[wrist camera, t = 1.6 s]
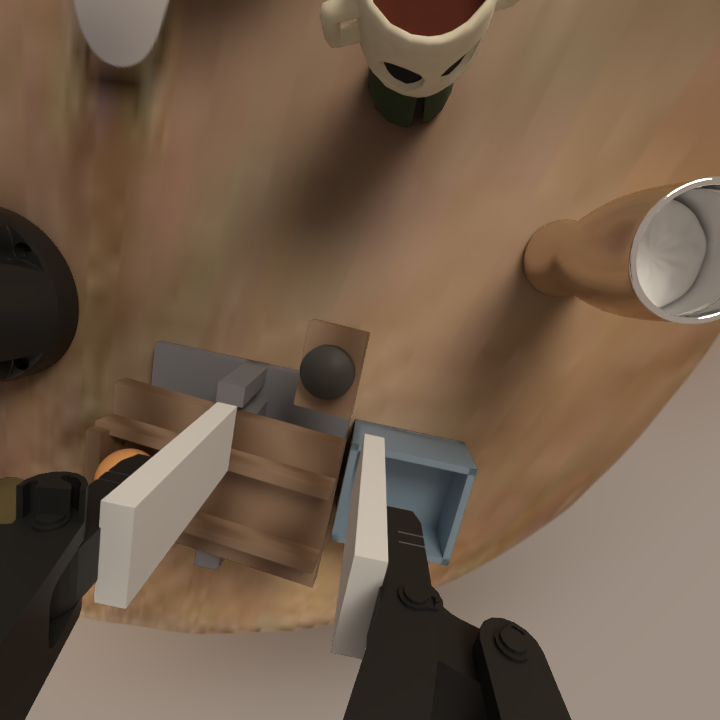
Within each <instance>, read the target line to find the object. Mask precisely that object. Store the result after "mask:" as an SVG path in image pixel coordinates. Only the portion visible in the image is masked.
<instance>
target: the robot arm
mask: <svg viewBox="0 0 720 720" xmlns="http://www.w3.org/2000/svg"><path fill="white" fill-rule="evenodd" d="M77 321H78V296H77V290H76V286H75V282H74V279H73V276H72V273H71V271H70V269H69V267H68V265H67V263H66V261H65V259H64V257H63V256H62V254H61V253H60V251H59V250H58V248H57V247H56V246H55V244H54V243H53V242H52V241H51V240H50V238H49V237H48V236H47V235H46V234H45V233H44V232H43V231H41V230H40V229H39V228H38V227H37V226H36V225H34V224H33V223H32V222H30V221H29V220H27V219H26V218H24V217H22V216H21V215H19V214H17V213H15V212H12V211H10V210H8V209H5V208H2V207H0V382H6V381H11V380H15V379H18V378H22V377H25V376H28V375H31V374H35V373H37V372H40V371H42V370H44V369H46V368H48V367H49V366H51V365H52V364H53V363H55V362H56V361H57V360H58V359H59V358H60V357H61V356H62V355H63V354H64V352H65V351H66V350H67V348H68V346H69V345H70V343H71V341H72V339H73V336H74V333H75V330H76V326H77ZM236 411H237V406H234V405H229V404H225V403H220V402H217V403H216V404H215V405H213V406H212V407H211V408H210V409H209V410H207V411H206V412H205V413H204V414H203V415H202V416H200V417H199V418H198V419H197V420H196V421H194V422H193V423H192V424H191V425H190V426H189V427H187V428H186V429H185V430H184V431H183V432H181V433H180V434H179V435H178V436H177V437H176V438H174V439H173V440H172V441H171V442H170V443H168V444H167V445H166V446H165V447H164V448H163V449H161V450H160V451H159V452H158V453H157V454H155V455H154V456H153V457H151V456H147V455H142V454H137V455H134V456H131V457H129V458H126V459H123V460H121V461H120V462H118V463H117V464H116V465H115V466H113V467H112V468H111V469H109V471H107V472H105V473H104V474H103V475H101V476H100V477H99V479H96V480H95V481H93V482H92V483H91V484H89V485H88V482H87V480H86V478H85V477H83V476H81V475H79V474H77V473H71V472H50V473H45V474H39V475H36V476H34V477H31V478H28V479H26V480H24V481H23V482H21V483H20V484H18V485H16V519H15V521H14V522H13V523H10V524H0V720H25V718H26V716H27V715H28V713H29V711H30V709H31V707H32V705H33V703H34V701H35V699H36V697H37V696H38V694H39V692H40V690H41V688H42V686H43V684H44V682H45V680H46V678H47V676H48V675H49V673H50V671H51V669H52V667H53V665H54V663H55V661H56V659H57V657H58V655H59V653H60V652H61V650H62V648H63V646H64V644H65V642H66V640H67V638H68V637H69V635H70V633H71V631H72V629H73V627H74V625H75V623H76V621H77V619H78V618H79V615H80V611H81V607H82V597H83V596H84V595H85V593H86V592H87V591H88V590H89V589H90V588H91V587H92V586H93V584H94V583H95V596H94V602H96V603H101V604H105V605H110V606H115V607H119V608H124V609H126V608H127V607H128V605H129V604H130V603H131V601H132V600H133V598H134V597H135V596H136V594H137V593H138V592H139V590H140V589H141V588H142V586H143V585H144V584H145V582H146V581H147V579H148V578H149V577H150V575H151V574H152V573H153V571H154V570H155V569H156V567H157V566H158V565H159V563H160V562H161V560H162V559H163V558H164V556H165V555H166V554H167V552H168V551H169V550H170V548H171V547H172V546H173V544H174V543H175V541H176V540H177V539H178V537H179V536H180V535H181V533H182V532H183V531H184V529H185V528H186V527H187V525H188V524H189V522H190V521H191V520H192V518H193V517H194V516H195V514H196V513H197V512H198V510H199V509H200V508H201V506H202V505H203V503H204V502H205V501H206V499H207V498H208V497H209V495H210V494H211V493H212V491H213V490H214V489H215V487H216V486H217V484H218V483H219V482H220V480H221V479H222V478H223V476H224V475H225V474H226V472H227V471H228V466H229V459H230V452H231V445H232V439H233V432H234V425H235V418H236ZM365 648H366V650H365ZM364 652H365V653H364ZM331 653H335V654H340V655H345V656H350V657H354V658H359V659H362V663H361V666H360V669H359V673H358V675H357V678H356V681H355V684H354V688H353V690H352V694H351V697H350V700H349V703H348V706H347V709H346V712H345V715H344V718H343V720H571V718H570V715H569V713H568V711H567V708H566V706H565V703H564V701H563V699H562V696H561V694H560V691H559V690H558V687H557V684H556V682H555V680H554V677H553V674H552V672H551V670H550V667H549V665H548V662H547V660H546V658H545V655H544V653H543V651H542V649H541V648H540V646H539V645H538V643H537V641H536V640H535V639H534V638H533V637H532V636H531V635H530V634H529V633H528V632H527V631H526V630H525V629H523V628H522V627H520V626H519V625H517V624H515V623H514V622H511V621H509V620H506V619H503V618H490V619H488V620H485V621H484V622H483V624H482V625H481V627H480V629H479V628H477V627H475V626H473V625H471V624H469V623H467V622H465V621H463V620H461V619H459V618H457V617H456V616H454V615H452V614H451V613H450V612H448V611H447V610H446V609H445V608H444V607H443V601H442V599H441V597H440V595H439V593H438V592H437V591H436V590H435V589H434V588H433V587H432V586H431V580H430V574H429V568H428V562H427V556H426V550H425V543H424V538H423V531H422V525H421V522H420V521H419V519H418V518H417V517H416V515H415V514H414V512H413V511H409V510H404V509H400V508H395V507H390V506H387V504H386V471H385V439H384V438H383V437H378V436H374V435H369V434H365V435H364V439H363V444H362V448H361V452H360V457H359V461H358V465H357V470H356V474H355V479H354V483H353V487H352V492H351V496H350V503H349V511H348V519H347V527H346V536H345V544H344V552H343V560H342V568H341V576H340V584H339V592H338V600H337V608H336V616H335V624H334V632H333V640H332V648H331Z"/></svg>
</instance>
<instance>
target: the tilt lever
mask: <svg viewBox="0 0 720 720" xmlns="http://www.w3.org/2000/svg"><path fill="white" fill-rule="evenodd" d="M369 336H370V332H367V331H363V330H359V329H354V328H350V327H346V326H342V325H338V324H334V323H329V322H325V321H321V320H317V319H312V320H309V323H308V329H307V334H306V340H305V345H304V351H303V357H302V362H301V366H300V373H299V379H298V384H297V390H296V395H295V401H294V405H297V406H301V407H305V408H308V409H312V410H316V411H319V412H323V413H327V414H330V415H334V416H338V417H341V418H345V419H349V418H350V417H351V415H352V413H353V409H354V404H355V400H356V395H357V390H358V386H359V381H360V377H361V372H362V368H363V363H364V358H365V354H366V349H367V345H368V340H369ZM215 404H216V403H215V402H211V401H208V400H204V399H200V398H197V397H193V396H190V395H186V394H182V393H179V392H175V391H172V390H168V389H164V388H161V387H157V386H154V385H150V384H147V383H143V382H139V381H136V380H132V379H129V378H124V379H121V380H118V381H115V383H114V397H113V412H112V414H110V415H107V416H105V417H103V418H100V419H98V420H96V421H95V426H93V427H91V428H88V429H86V440H85V459H84V477H85V478H86V480H87V482H88V485H89V484H91V483H92V482H93V481H94V477H95V472H96V470H97V468H98V466H99V465H100V463H101V462H102V461H103V460H104V459H105V458H106V457H107V456H109V455H110V454H112V453H114V452H116V451H118V450H122V449H129V448H132V449H138V450H142V451H144V452H146V453H147V454H149V455H150V456H151V457H153V456H154V455H155V454H157V453H158V452H159V451H160V450H161V449H163V448H164V447H165V446H166V445H167V444H168V443H170V442H171V441H172V440H173V439H174V438H176V437H177V436H178V435H179V434H180V433H181V432H183V431H184V430H185V429H186V428H187V427H189V426H190V425H191V424H192V423H193V422H194V421H196V420H197V419H198V418H199V417H200V416H202V415H203V414H204V413H205V412H206V411H207V410H209V409H210V408H211V407H212V406H213V405H215ZM346 441H347V439H344V438H340V437H337V436H333V435H330V434H326V433H322V432H319V431H315V430H312V429H308V428H305V427H301V426H297V425H294V424H290V423H287V422H283V421H279V420H276V419H272V418H269V417H265V416H261V415H258V414H254V413H251V412H247V411H243V410H240V409H237V411H236V418H235V425H234V432H233V439H232V445H231V452H230V459H229V466H228V471H227V472H226V474H225V475H224V476H223V478H222V479H221V480H220V482H219V483H218V484H217V486H216V487H215V489H214V490H213V491H212V493H211V494H210V495H209V497H208V498H207V499H206V501H205V502H204V503H203V505H202V506H201V508H200V509H199V510H198V512H197V513H196V514H195V516H194V517H193V518H192V520H191V521H190V522H189V524H188V525H187V527H186V528H185V529H184V531H183V532H182V533H181V535H180V536H179V537H178V539H177V540H176V541H175V542H177V543H180V544H183V545H186V546H189V547H192V548H195V549H198V550H201V551H204V552H207V553H210V554H213V555H216V556H219V557H222V558H225V559H228V560H231V561H234V562H237V563H240V564H243V565H246V566H249V567H252V568H255V569H258V570H261V571H264V572H267V573H270V574H273V575H276V576H279V577H282V578H285V579H288V580H291V581H294V582H297V583H300V584H303V585H306V586H309V587H313V585H314V582H315V580H316V577H317V573H318V568H319V564H320V559H321V555H322V550H323V546H324V541H325V536H326V532H327V527H328V523H329V518H330V514H331V509H332V504H333V500H334V495H335V491H336V486H337V482H338V477H339V473H340V468H341V463H342V459H343V454H344V450H345V445H346Z"/></svg>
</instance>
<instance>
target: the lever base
mask: <svg viewBox="0 0 720 720" xmlns="http://www.w3.org/2000/svg"><path fill="white" fill-rule="evenodd" d="M299 373H300V371H299V370H294V369H289V368H285V367H280V366H275V365H271V364H266V363H262V362H257V361H252V360H248V359H243V358H238V357H234V356H229V355H224V354H220V353H215V352H211V351H206V350H201V349H197V348H192V347H187V346H183V345H178V344H174V343H169V342H164V341H159V342H156V343H155V349H154V360H153V371H152V382H151V385H154V386H157V387H161V388H164V389H168V390H172V391H175V392H179V393H182V394H186V395H190V396H193V397H197V398H200V399H204V400H208V401H211V402H215V403H217V402H220V403H225V404H229V405H234V406H237V409H240V410H243V411H247V412H251V413H254V414H258V415H261V416H265V417H269V418H272V419H276V420H279V421H283V422H287V423H290V424H294V425H297V426H301V427H305V428H308V429H312V430H315V431H319V432H322V433H326V434H330V435H333V436H337V437H340V438H344V439H346V436H347V432H348V427H349V422H350V418H351V417H350V418H349V419H345V418H341V417H338V416H334V415H330V414H327V413H323V412H319V411H316V410H312V409H308V408H305V407H301V406H297V405H294V401H295V395H296V390H297V384H298V379H299ZM223 560H224V558H222V557H219V556H216V555H213V554H210V553H207V552H204V551H201V550H198V549H196V554H195V562H194V565H196V566H201V567H205V568H210V569H215V570H218V569H219V567H220V565H221V563H222V562H223Z"/></svg>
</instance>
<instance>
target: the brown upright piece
mask: <svg viewBox="0 0 720 720" xmlns="http://www.w3.org/2000/svg"><path fill="white" fill-rule="evenodd" d="M23 481H24V480H22V479H19V478H14V477H6V478H2V479H0V524H10V523H13V522H14V521H15V519H16V485H18V484H20V483H21V482H23Z"/></svg>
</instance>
